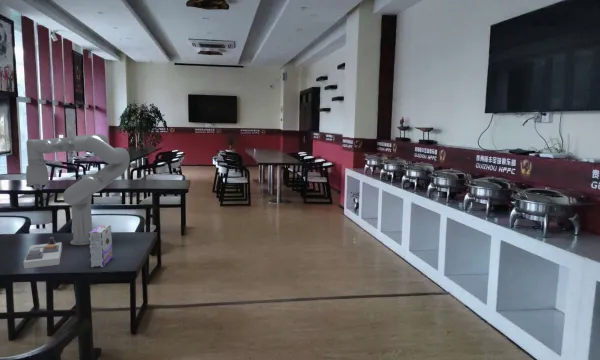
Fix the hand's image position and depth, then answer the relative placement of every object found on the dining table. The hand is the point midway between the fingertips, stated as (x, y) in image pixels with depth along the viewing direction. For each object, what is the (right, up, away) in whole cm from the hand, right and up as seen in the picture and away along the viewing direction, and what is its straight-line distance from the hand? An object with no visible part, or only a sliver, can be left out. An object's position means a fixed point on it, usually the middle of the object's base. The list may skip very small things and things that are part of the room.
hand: (38, 197), depth 243 cm
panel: (+15, -28, -22) cm, 39 cm away
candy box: (+46, -30, -30) cm, 63 cm away
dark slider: (+14, -24, -13) cm, 31 cm away
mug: (+39, -28, -17) cm, 51 cm away
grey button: (+16, -25, -32) cm, 44 cm away
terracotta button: (+18, -25, -21) cm, 38 cm away
